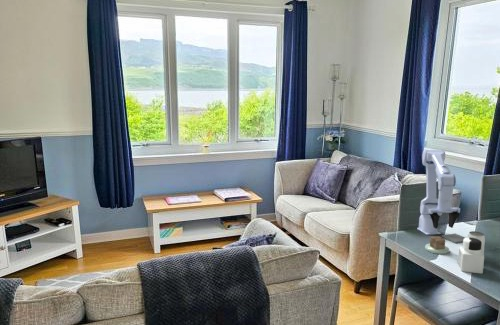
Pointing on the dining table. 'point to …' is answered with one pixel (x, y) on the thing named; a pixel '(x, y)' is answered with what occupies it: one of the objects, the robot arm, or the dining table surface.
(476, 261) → the container
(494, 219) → the dining table surface
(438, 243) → the walnut block
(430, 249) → the sage dish
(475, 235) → the can
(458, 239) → the slate coaster
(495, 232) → the dining table surface
